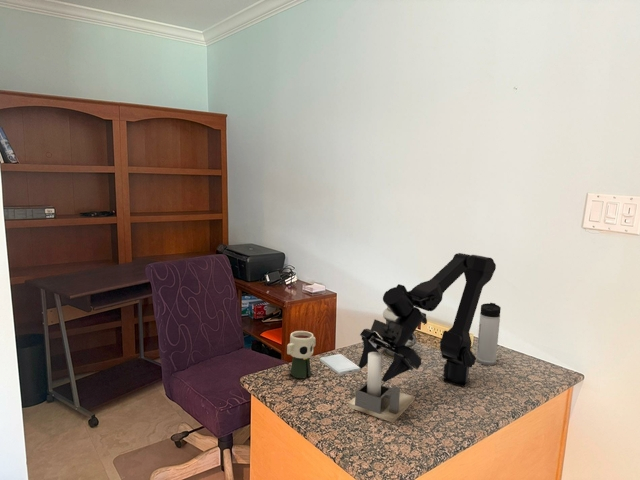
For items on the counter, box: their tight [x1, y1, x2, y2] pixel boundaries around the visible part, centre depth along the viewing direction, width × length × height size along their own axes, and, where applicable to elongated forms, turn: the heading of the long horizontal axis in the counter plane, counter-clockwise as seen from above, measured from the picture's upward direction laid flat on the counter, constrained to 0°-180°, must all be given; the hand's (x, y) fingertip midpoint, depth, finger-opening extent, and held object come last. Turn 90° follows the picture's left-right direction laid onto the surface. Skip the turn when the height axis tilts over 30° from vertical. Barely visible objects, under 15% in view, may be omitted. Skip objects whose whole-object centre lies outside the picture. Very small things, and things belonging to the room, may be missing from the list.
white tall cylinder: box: [366, 351, 383, 397], centre depth 116 cm, size 4×4×13 cm
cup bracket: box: [354, 381, 401, 414], centre depth 116 cm, size 10×7×6 cm
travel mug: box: [475, 302, 502, 366], centre depth 150 cm, size 6×7×20 cm
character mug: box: [286, 330, 316, 379], centre depth 135 cm, size 11×7×13 cm, turn 132°
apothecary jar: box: [381, 306, 418, 359], centre depth 155 cm, size 12×12×18 cm
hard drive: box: [319, 353, 362, 376], centre depth 144 cm, size 2×8×12 cm
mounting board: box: [347, 391, 415, 424], centre depth 120 cm, size 13×14×1 cm
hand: (371, 374), depth 115 cm, fingers open, 9 cm apart
